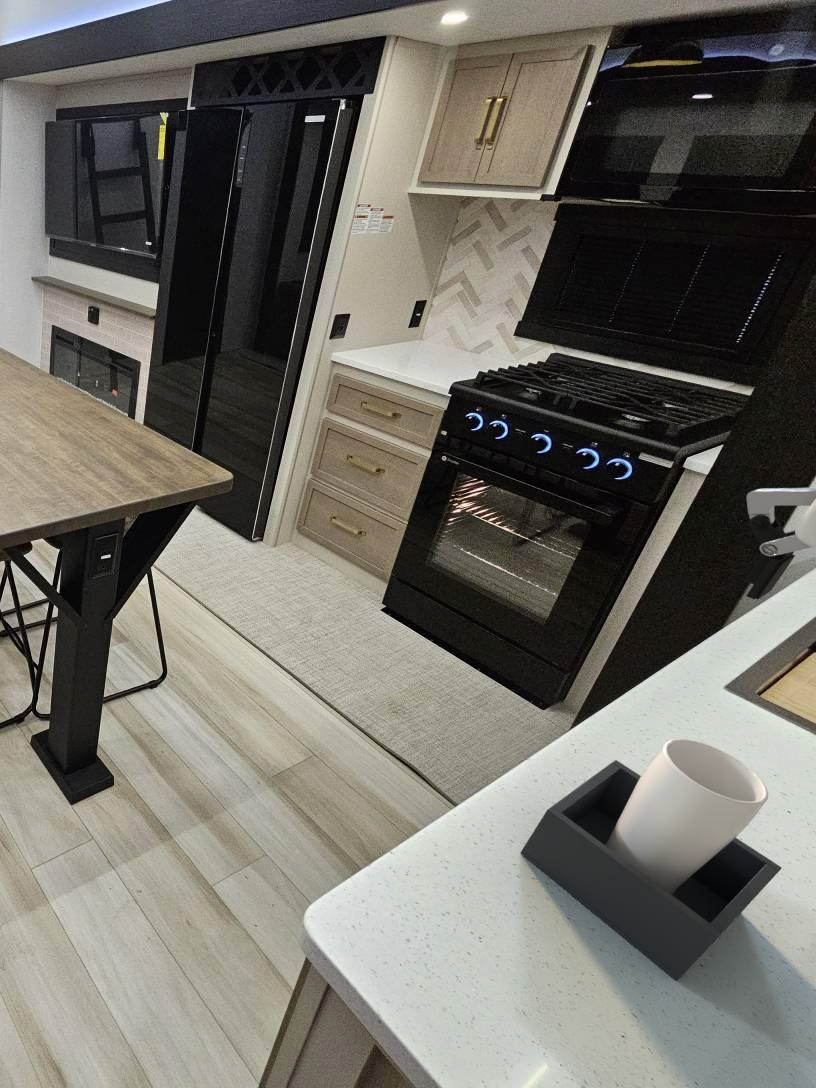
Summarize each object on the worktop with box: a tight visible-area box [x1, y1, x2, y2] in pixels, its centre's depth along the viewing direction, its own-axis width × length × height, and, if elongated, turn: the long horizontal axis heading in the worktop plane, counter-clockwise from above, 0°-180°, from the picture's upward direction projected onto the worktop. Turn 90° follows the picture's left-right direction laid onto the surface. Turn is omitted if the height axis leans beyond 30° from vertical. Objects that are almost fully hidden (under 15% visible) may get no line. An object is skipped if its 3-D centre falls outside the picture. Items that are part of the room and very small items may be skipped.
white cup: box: [605, 738, 769, 895], centre depth 60 cm, size 7×7×15 cm
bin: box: [520, 759, 782, 982], centre depth 63 cm, size 13×13×7 cm
